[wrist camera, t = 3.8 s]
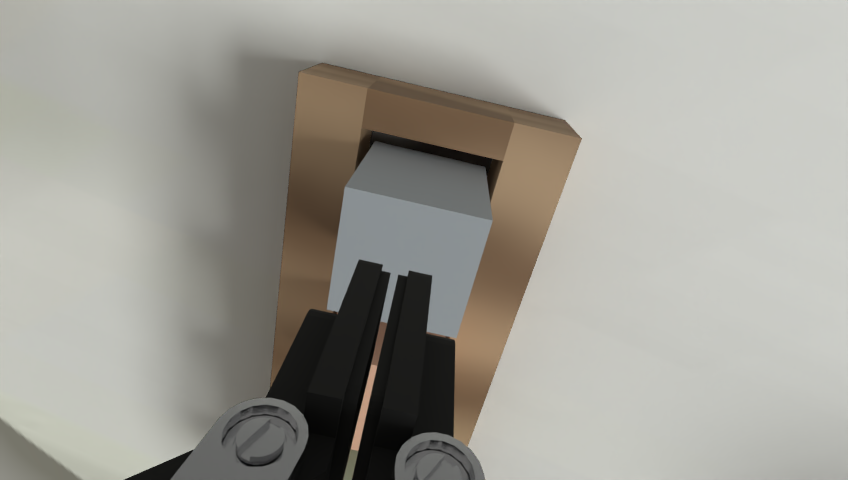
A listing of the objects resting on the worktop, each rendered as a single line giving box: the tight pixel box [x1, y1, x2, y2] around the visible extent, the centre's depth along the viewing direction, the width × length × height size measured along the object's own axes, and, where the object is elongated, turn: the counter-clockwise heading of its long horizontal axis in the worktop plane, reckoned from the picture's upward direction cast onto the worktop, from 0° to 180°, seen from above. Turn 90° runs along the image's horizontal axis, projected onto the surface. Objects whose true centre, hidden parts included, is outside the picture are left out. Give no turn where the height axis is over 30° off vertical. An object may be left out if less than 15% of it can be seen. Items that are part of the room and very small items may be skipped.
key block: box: [270, 63, 582, 447], centre depth 23 cm, size 26×10×3 cm, turn 168°
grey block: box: [327, 141, 493, 338], centre depth 16 cm, size 4×4×5 cm
